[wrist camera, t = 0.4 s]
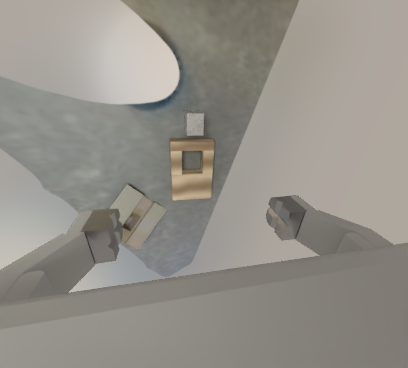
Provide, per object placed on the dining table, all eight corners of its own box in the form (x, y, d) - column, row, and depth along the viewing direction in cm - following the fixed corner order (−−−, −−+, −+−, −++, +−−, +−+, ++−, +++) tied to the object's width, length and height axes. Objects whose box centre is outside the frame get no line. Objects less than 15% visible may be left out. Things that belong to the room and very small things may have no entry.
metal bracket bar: (183, 109, 48) (186, 113, 41) (198, 110, 48) (204, 113, 41) (183, 129, 50) (187, 135, 43) (198, 129, 51) (203, 135, 44)
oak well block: (169, 138, 50) (170, 141, 47) (211, 138, 53) (214, 141, 49) (172, 193, 58) (172, 200, 55) (208, 191, 61) (210, 197, 57)
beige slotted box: (115, 183, 57) (85, 227, 51) (126, 183, 51) (94, 232, 45) (153, 207, 67) (132, 246, 61) (167, 209, 61) (145, 253, 55)
